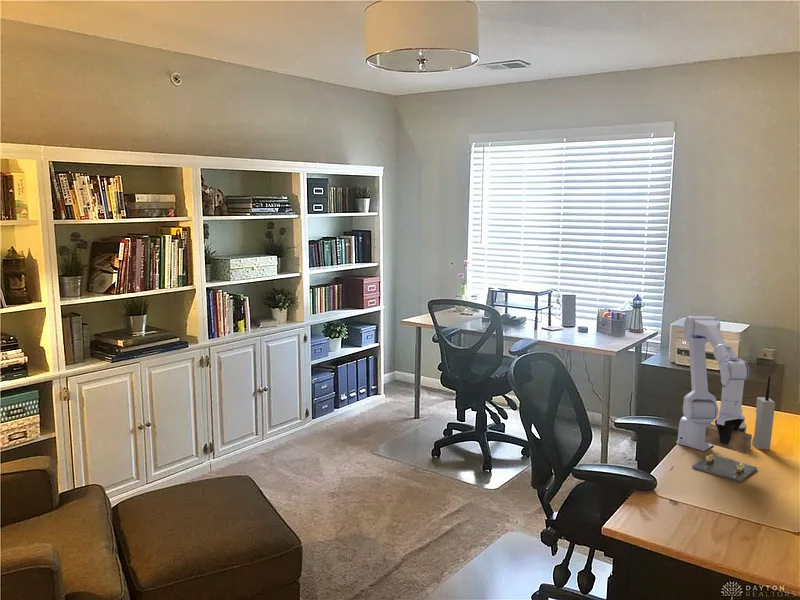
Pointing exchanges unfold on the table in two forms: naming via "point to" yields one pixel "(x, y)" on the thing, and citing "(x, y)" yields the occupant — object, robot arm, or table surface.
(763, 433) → the vintage mobile phone
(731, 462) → the plate
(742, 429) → the pill bottle
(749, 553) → the table surface
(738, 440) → the walnut bar
